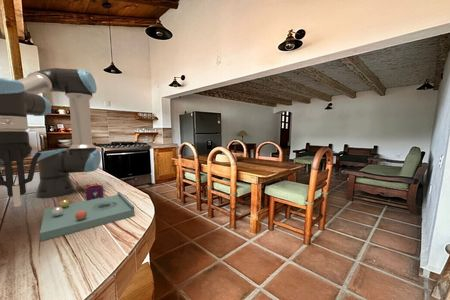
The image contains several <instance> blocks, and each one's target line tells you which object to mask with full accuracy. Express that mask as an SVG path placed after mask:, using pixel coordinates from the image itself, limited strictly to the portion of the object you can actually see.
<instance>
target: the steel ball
mask: <svg viewBox="0 0 450 300" xmlns="http://www.w3.org/2000/svg"><path fill="white" fill-rule="evenodd" d="M55 207H56V208H54V209H53V210H52V215H53V216H60V215H62V214H63V212H64V210H63V208H62V207H57V206H55Z"/></svg>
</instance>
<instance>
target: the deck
mask: <svg viewBox="0 0 450 300" xmlns="http://www.w3.org/2000/svg"><path fill="white" fill-rule="evenodd" d="M56 207H60V205H59V206H54V207H48V208H44V209H43V210H44V212H43V216H42V220H41V224H40V225H41V227H40V231H39V237H40V242H43V241H47V240H50V239H54V238H59V237H61V236H65V235H68V234H73V233H77V232H81V231H84V230H87V229H91V228H95V227H98V226H102V225H105V224H110V223H113V222H116V221H121V220H124V219H128V218H132V217H135V206H134V204H132V202H130V201H129V200H128V198H126V196H124V195H123V194H122V193H121V192H120V191H118V192H117V194H115V195H110V196H104V198H98V199H93V200H88V201H86V200H84V201H78V202H73V203H70V204H69V206H68V207H66V208H63V210H64V212H63V214H62V215H60V216H53V215H52V210H53V209H54V208H56ZM79 210H85V211H86V212H87V216H86V217H85V218H84V219H82V220H78V219H76V218H75V214H76V213H77V212H78V211H79Z"/></svg>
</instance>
